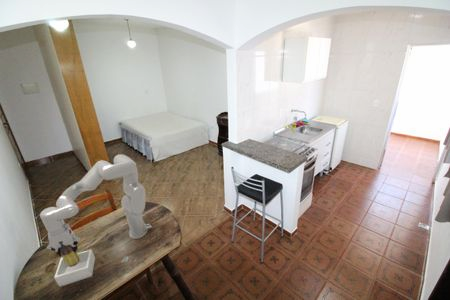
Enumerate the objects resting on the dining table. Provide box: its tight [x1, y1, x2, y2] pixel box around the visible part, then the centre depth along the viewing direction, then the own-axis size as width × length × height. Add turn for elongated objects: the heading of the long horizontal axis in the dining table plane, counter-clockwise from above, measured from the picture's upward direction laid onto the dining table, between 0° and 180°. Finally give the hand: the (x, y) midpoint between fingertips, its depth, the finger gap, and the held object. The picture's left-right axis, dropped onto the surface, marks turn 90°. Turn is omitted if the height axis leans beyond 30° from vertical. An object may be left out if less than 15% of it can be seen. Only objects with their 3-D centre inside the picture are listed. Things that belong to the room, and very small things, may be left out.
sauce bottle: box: [59, 241, 80, 267], centre depth 120 cm, size 7×6×20 cm
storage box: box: [53, 249, 96, 288], centre depth 126 cm, size 16×13×8 cm
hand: (68, 252), depth 120 cm, fingers closed on sauce bottle, 6 cm apart
